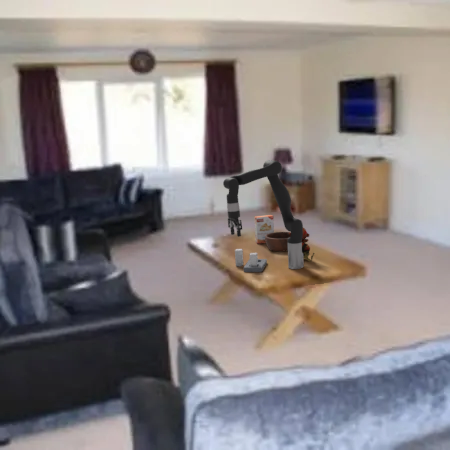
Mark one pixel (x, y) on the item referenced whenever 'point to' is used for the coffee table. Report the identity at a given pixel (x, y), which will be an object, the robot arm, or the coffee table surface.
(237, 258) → the block
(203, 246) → the coffee table surface
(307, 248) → the red flower plant
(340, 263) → the coffee table surface
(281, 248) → the wooden bowl
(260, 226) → the cracker box
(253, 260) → the block
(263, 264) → the grey square hole board
